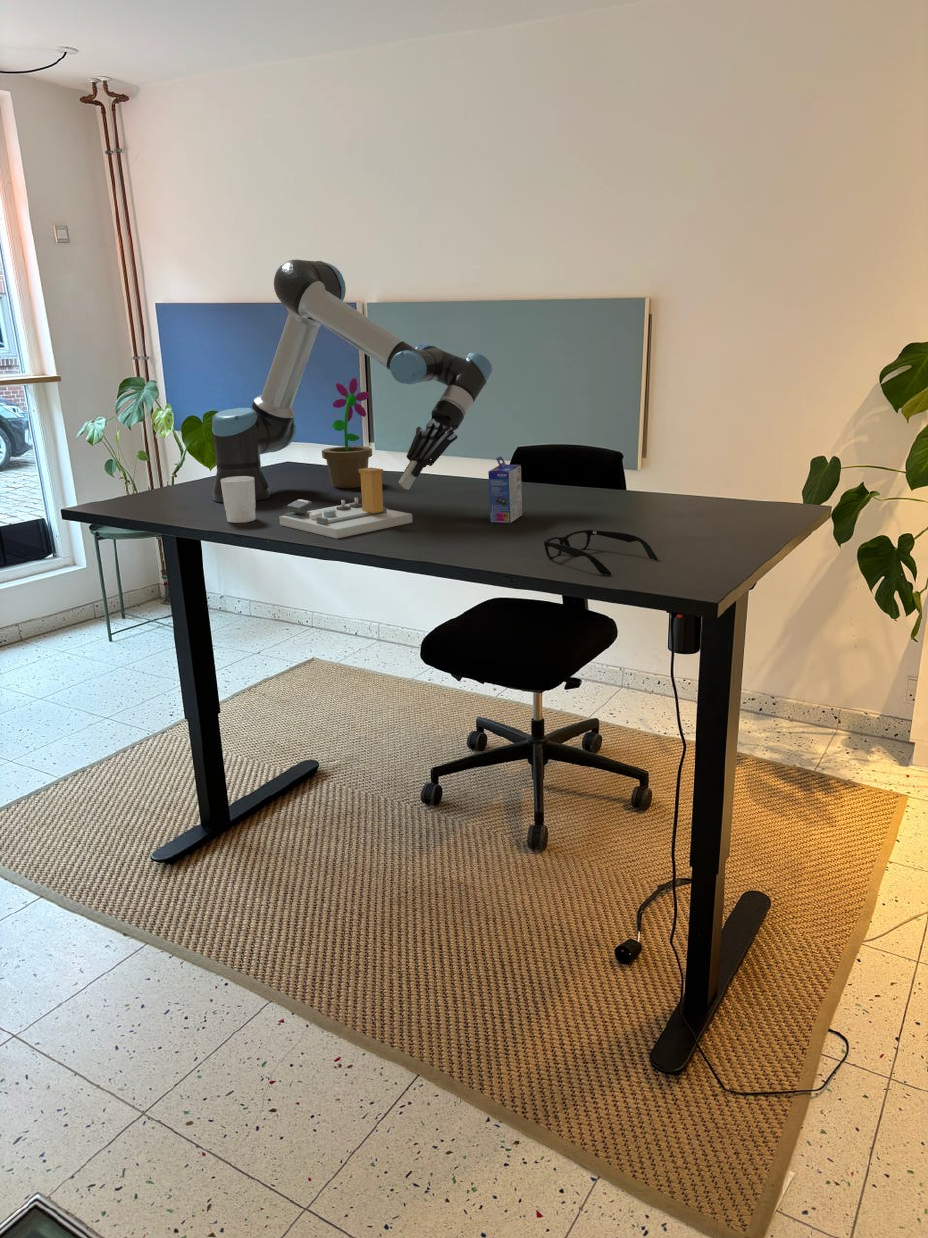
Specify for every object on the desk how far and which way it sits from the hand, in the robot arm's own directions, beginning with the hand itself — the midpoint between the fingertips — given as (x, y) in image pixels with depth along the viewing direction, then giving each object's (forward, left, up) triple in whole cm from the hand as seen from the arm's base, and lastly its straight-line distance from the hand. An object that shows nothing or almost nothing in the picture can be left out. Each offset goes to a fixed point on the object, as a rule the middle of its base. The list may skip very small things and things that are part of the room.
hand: (403, 485), depth 219 cm
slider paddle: (0, -9, -5) cm, 11 cm away
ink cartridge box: (+21, +14, -8) cm, 26 cm away
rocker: (-12, -21, -3) cm, 25 cm away
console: (-4, -14, -7) cm, 17 cm away
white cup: (-27, -28, -8) cm, 40 cm away
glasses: (+61, -3, -8) cm, 62 cm away
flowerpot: (-47, +20, -8) cm, 52 cm away
